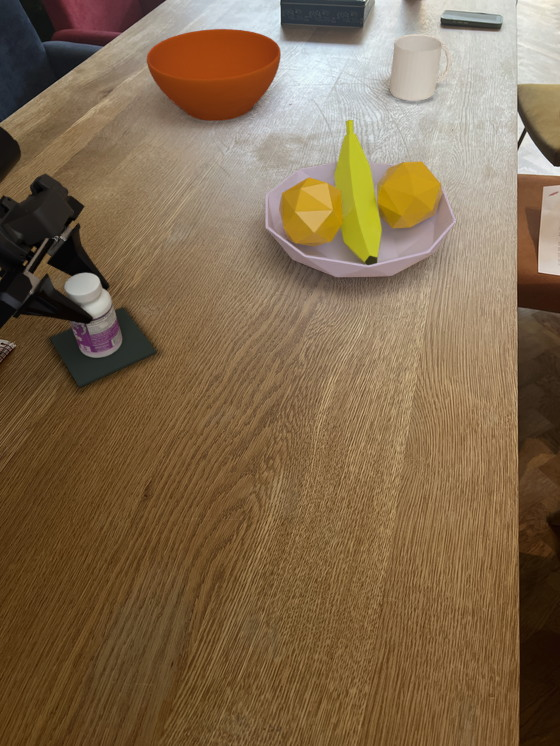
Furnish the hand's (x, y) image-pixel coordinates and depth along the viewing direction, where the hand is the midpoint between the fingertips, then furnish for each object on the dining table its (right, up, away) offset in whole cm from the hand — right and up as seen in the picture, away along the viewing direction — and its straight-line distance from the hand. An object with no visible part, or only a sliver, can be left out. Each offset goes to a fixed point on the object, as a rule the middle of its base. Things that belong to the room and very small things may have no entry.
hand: (99, 304), depth 71 cm
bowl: (+9, +45, +51) cm, 69 cm away
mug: (+49, +49, +54) cm, 88 cm away
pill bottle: (-1, -5, +5) cm, 7 cm away
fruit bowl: (+32, +12, +20) cm, 40 cm away
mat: (-1, -5, +5) cm, 7 cm away
